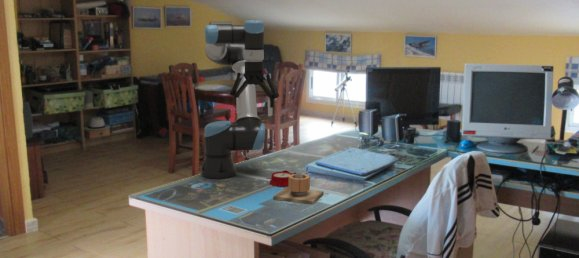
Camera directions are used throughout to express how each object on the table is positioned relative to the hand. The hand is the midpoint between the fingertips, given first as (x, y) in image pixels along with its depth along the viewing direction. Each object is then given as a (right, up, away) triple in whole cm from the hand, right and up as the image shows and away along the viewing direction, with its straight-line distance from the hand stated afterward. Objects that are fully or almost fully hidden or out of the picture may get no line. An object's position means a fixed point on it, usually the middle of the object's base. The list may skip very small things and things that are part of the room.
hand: (254, 114), depth 228 cm
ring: (+18, -29, -4) cm, 34 cm away
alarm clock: (+12, -29, +16) cm, 35 cm away
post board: (+18, -32, -3) cm, 37 cm away
